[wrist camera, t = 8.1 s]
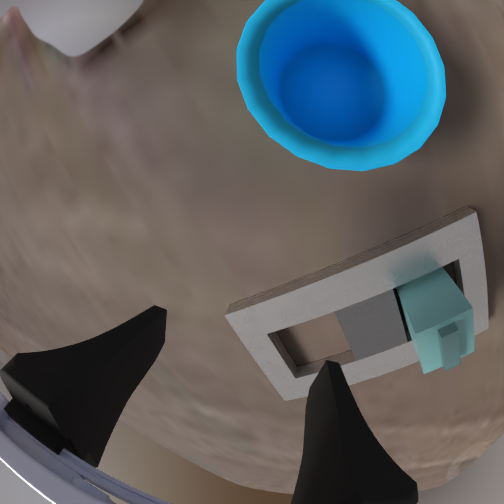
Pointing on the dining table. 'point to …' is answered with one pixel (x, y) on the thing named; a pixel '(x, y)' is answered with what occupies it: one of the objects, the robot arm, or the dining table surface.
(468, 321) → the plug
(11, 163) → the dining table surface
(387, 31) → the mug
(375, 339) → the panel
